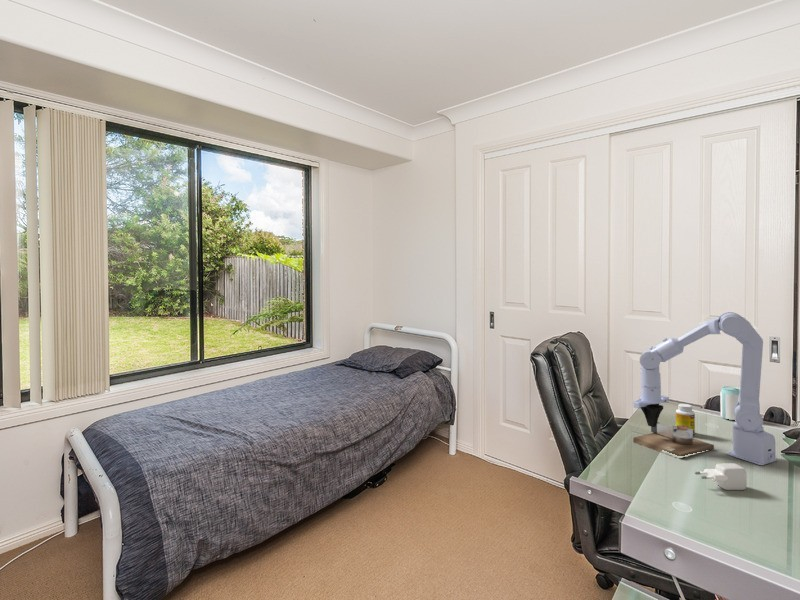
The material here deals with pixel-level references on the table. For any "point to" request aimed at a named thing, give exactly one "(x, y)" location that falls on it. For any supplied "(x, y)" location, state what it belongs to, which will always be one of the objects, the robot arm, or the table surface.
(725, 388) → the can
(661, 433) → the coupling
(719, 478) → the power adapter
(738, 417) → the robot arm
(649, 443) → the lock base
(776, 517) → the table surface
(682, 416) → the supplement bottle
